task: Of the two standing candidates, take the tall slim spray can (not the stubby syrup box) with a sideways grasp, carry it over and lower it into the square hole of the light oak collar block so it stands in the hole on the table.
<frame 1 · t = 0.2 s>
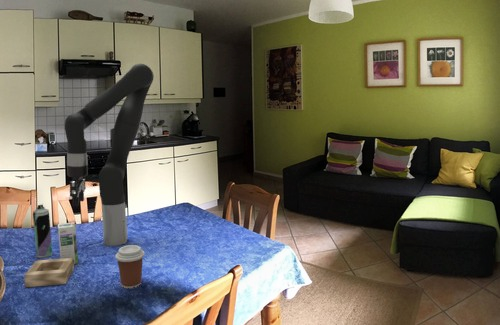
hand: (78, 203, 159), 18 cm above the table, tool pointing down, fingers open, 8 cm apart
spray can: (44, 255, 151), on the table
syrup box: (69, 262, 144), on the table
collar: (51, 277, 132), on the table
coffee cup: (131, 284, 128), on the table
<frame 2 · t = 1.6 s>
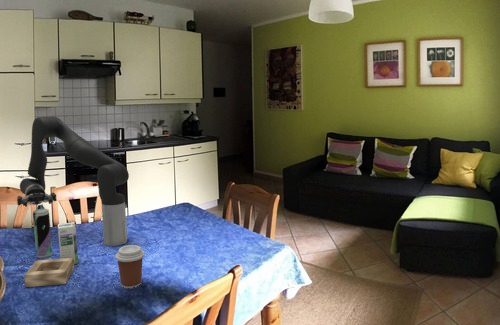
hand: (38, 202, 157), 18 cm above the table, tool horizontal, fingers open, 8 cm apart
nothing on the table moved.
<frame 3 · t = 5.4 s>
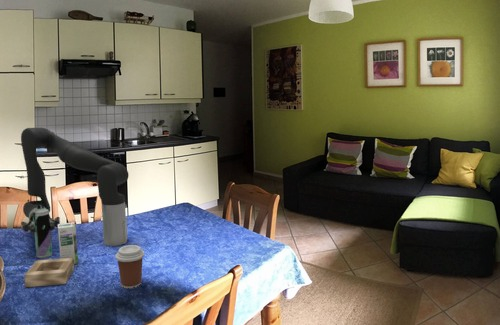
hand: (42, 229, 147), 11 cm above the table, tool horizontal, fingers closed on spray can, 5 cm apart
spray can: (44, 255, 151), on the table, touching gripper
everything else where it was.
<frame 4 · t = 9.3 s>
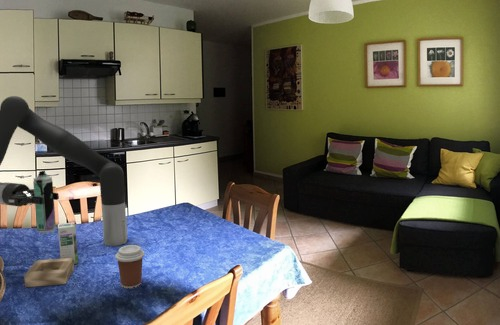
hand: (50, 198, 127), 28 cm above the table, tool horizontal, fingers closed on spray can, 5 cm apart
spray can: (46, 230, 129), point 16 cm above the table, touching gripper
everything else where it was.
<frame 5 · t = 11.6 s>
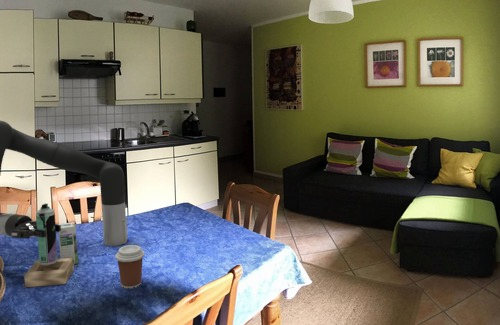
hand: (52, 231, 129), 17 cm above the table, tool horizontal, fingers closed on spray can, 5 cm apart
spray can: (48, 262, 131), point 5 cm above the table, touching gripper
everything else where it was.
when the fingers open (12 cm above the table, at t = 13.3 s): spray can drops 1 cm, resting in collar.
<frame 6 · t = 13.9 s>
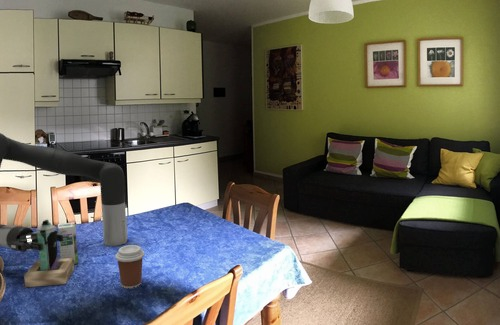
hand: (52, 242, 129), 13 cm above the table, tool horizontal, fingers open, 8 cm apart
spray can: (50, 277, 132), resting in collar
everything else where it was.
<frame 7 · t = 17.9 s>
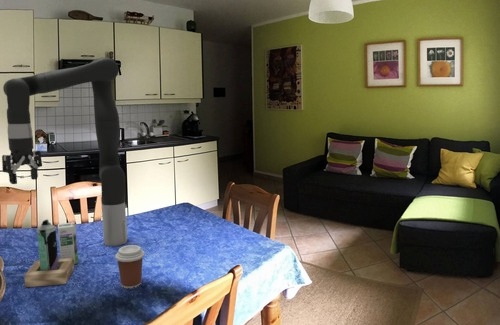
hand: (24, 181, 141), 30 cm above the table, tool pointing down, fingers open, 8 cm apart
nothing on the table moved.
at the end: spray can 0.2 cm off-centre on the collar, point 0.0 cm above the collar's base; spray can tilted 0°; the gripper is holding nothing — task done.
